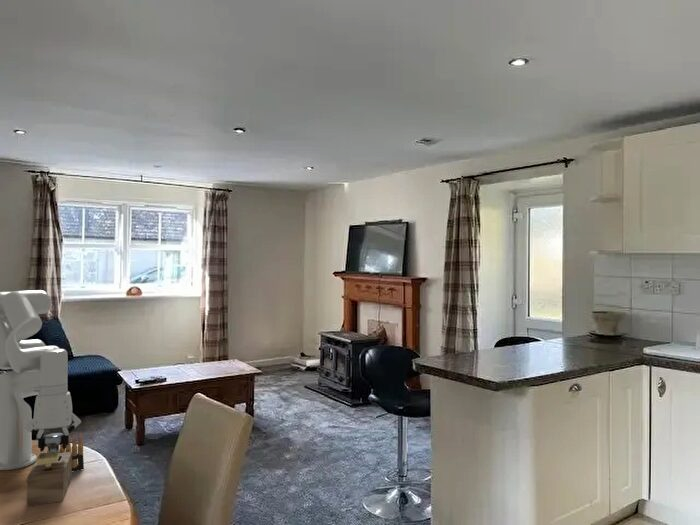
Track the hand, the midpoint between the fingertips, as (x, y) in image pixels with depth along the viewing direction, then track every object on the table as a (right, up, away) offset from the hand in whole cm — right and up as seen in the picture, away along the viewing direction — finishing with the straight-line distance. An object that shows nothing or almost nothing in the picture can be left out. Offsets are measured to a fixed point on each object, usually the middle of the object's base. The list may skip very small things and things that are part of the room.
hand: (53, 448), depth 160 cm
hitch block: (+1, -11, -4) cm, 12 cm away
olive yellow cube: (+3, -4, -8) cm, 9 cm away
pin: (0, -6, 0) cm, 6 cm away
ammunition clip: (-2, -12, +10) cm, 16 cm away
